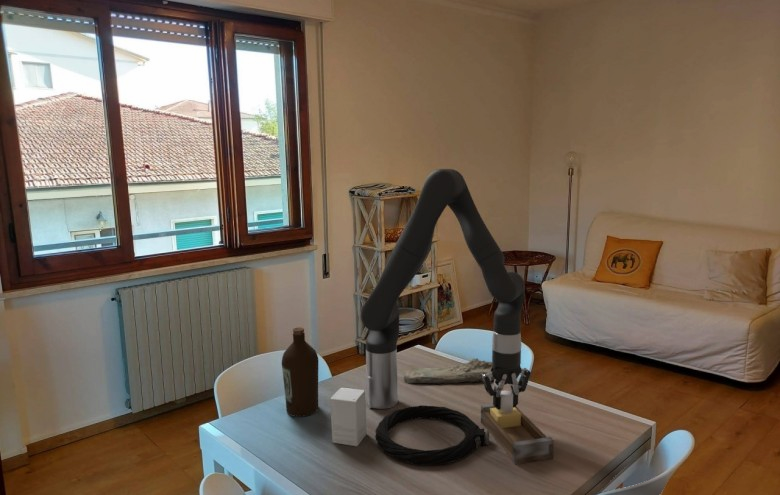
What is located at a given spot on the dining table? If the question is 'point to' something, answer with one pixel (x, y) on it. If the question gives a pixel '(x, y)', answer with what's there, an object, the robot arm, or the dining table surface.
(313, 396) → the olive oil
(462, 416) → the cable lock
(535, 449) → the wooden tray
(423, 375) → the long grey stone
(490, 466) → the dining table surface
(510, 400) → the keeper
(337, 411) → the supplement box
